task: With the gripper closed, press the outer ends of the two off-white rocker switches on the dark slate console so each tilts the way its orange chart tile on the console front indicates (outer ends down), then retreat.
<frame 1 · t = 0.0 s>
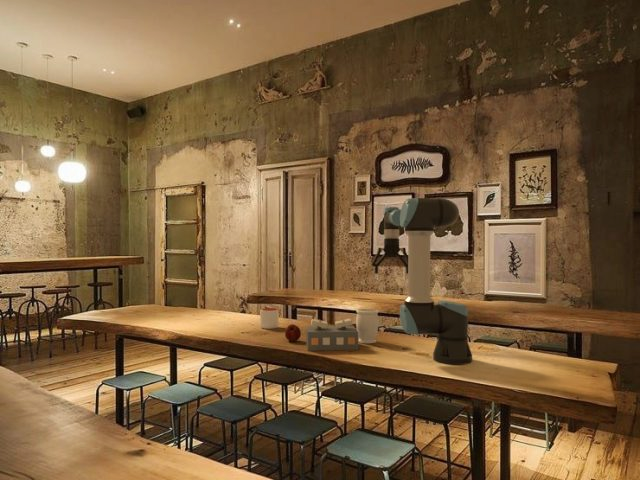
hand: (391, 280, 237), 28 cm above the table, fingers open, 13 cm apart
switch B: (319, 323, 212), point 11 cm above the table, hinge at 12.0°
jar: (367, 342, 223), on the table
console: (331, 346, 212), on the table
cup: (269, 328, 259), on the table
apple: (292, 341, 224), on the table
switch A: (343, 322, 213), point 11 cm above the table, hinge at -12.0°
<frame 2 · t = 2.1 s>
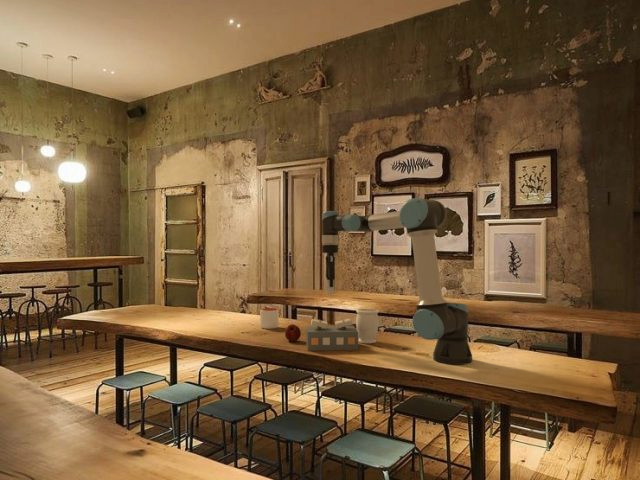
hand: (330, 292, 220), 23 cm above the table, fingers open, 9 cm apart
nothing on the table moved.
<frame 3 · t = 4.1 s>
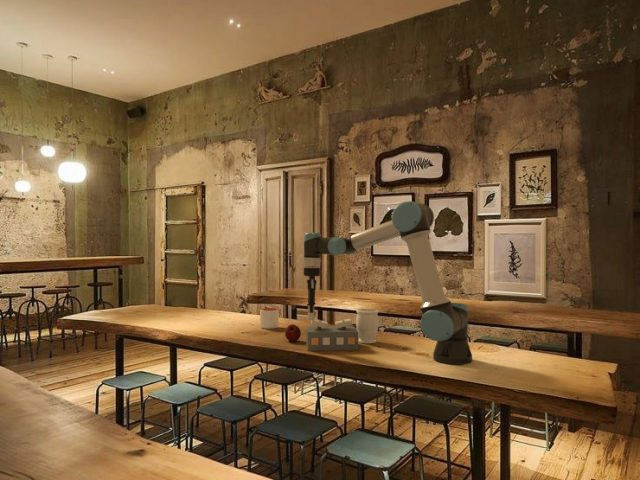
hand: (311, 319, 212), 12 cm above the table, fingers closed
switch B: (319, 323, 212), point 11 cm above the table, hinge at 11.2°, touching gripper
everything else where it was.
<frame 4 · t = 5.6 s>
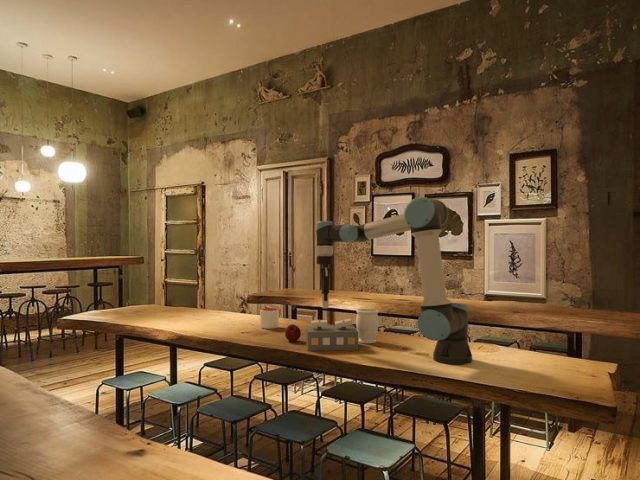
hand: (325, 307, 212), 17 cm above the table, fingers closed
switch B: (319, 323, 212), point 11 cm above the table, hinge at -3.5°
everything else where it was.
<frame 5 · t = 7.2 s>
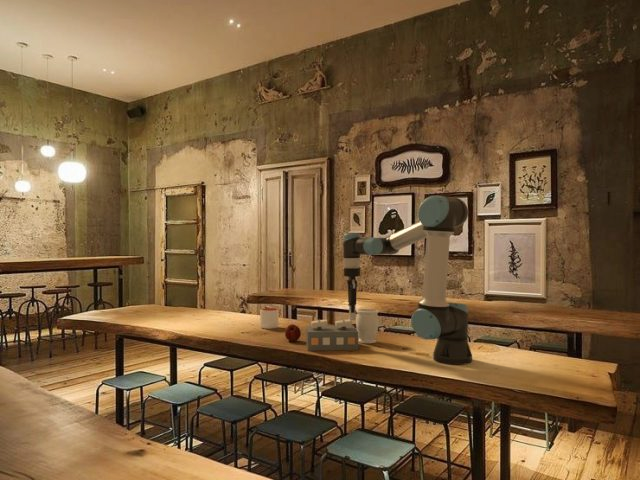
hand: (352, 319, 213), 12 cm above the table, fingers closed
switch B: (319, 323, 212), point 11 cm above the table, hinge at -7.9°
switch A: (343, 322, 213), point 11 cm above the table, hinge at -6.6°, touching gripper
everything else where it was.
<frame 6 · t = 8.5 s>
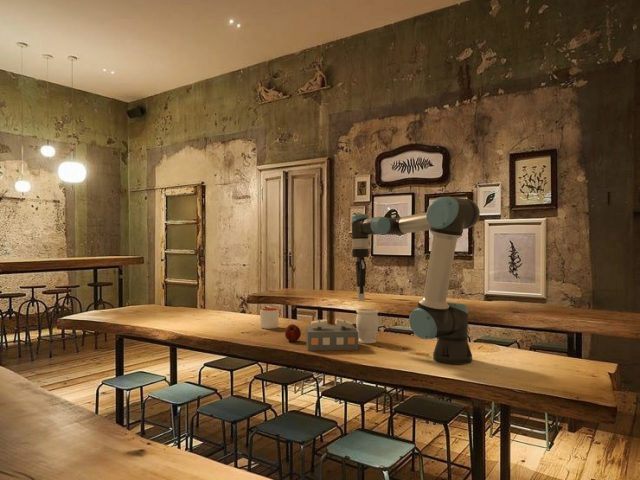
hand: (361, 300, 212), 21 cm above the table, fingers closed
switch B: (319, 323, 212), point 11 cm above the table, hinge at -9.1°
switch A: (343, 322, 213), point 11 cm above the table, hinge at 15.3°
everything else where it was.
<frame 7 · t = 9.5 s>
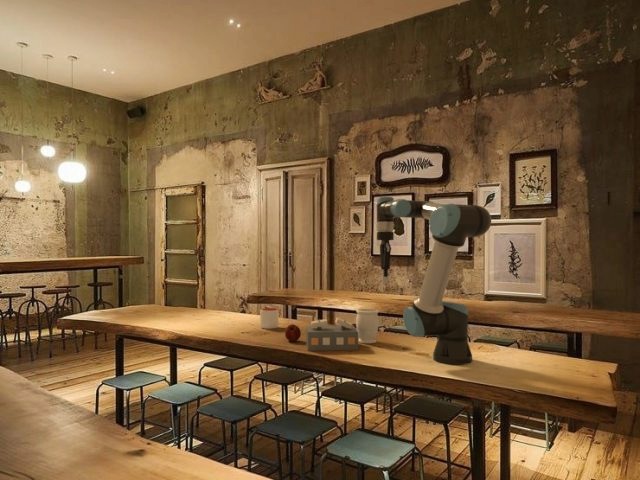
hand: (385, 283, 213), 28 cm above the table, fingers closed
switch B: (319, 323, 212), point 11 cm above the table, hinge at -9.4°
switch A: (343, 322, 213), point 11 cm above the table, hinge at 21.7°
everything else where it was.
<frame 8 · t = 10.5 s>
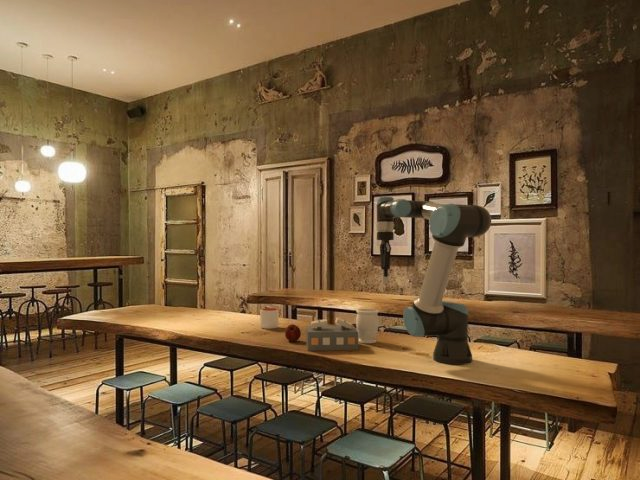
hand: (385, 283, 213), 28 cm above the table, fingers closed
nothing on the table moved.
at the end: switch A at +22° (first picture: -12°); switch B at -10° (first picture: +12°) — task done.
